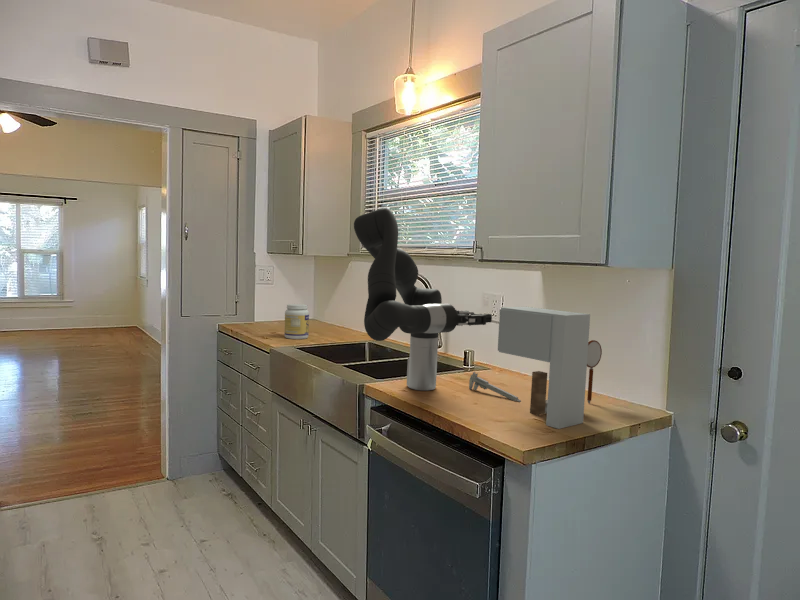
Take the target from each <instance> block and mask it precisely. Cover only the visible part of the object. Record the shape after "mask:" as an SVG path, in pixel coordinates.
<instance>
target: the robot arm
mask: <svg viewBox="0 0 800 600" xmlns="http://www.w3.org/2000/svg"><path fill="white" fill-rule="evenodd" d="M353 229H354V232H355V235H356V237H357V239H358V241H359V242H360V244H361V245H362V246H363V247H364V249H365V250H366V251H367V252H368V253H369V254H370V255H371V256H372V257H373V261H372V263H371V265H370V268H369V269H368V274H367V293H368V297H367V300H366V301H367V302H366V305H365V311H364V316H363V317H364V319H363V324H364V325H363V326H364V329H365V332H366V334H367V335H368V337H369V338H370V339H371V340H374V341H376V342H382V341H385V340H387V339H388V338H390V337H391V336H392V335H393V333H394V332H395V331H396V330H397V329H398V328H399V329H400V331H402V332H403V333H405V334H409V335H410V337H409V338H410V341H409V357H407V368H406V369H407V370H406V386H407V387H408V389H412V390H415V391H432V390H435V388H437V369H438V350H439V334H440V333H450V332H453V331H454V330H455V328H456V327H458V326H459V327H460V326H461V327H463V326H469V327H470V326H471V327H472V326H481V325H482V326H486V325H487V324H488V323H492V322H493V321H492V317H493V315H492V314H491V313H475V312H474V311H469V310H458V309H456V308H455V306H453V304H451V303H442V302H443V300H442V293H441V292H440V290H439V289H435V288H425V287H424V288H423V287H417V286H415V284H416V283H417V280H418V278H419V270H418V266H417V265H416V263H415V261H414V259H413V258H412V255H410V254H409V253H408V252H407V251H405V250H404V249H401V248H400V247H398V240H399V225H398V222H397V218H396V216H395V214H394V212H393V211H392V210H391V209H390V208H388V207H382V208H378V209H375V210H372V211H370V212H367V213H364V214H361V215H358V217H356V218H355V220H354V222H353ZM397 292H398V293H399V296H400V298H401V299H402V301H403V302H400V301H396V299H397Z"/></svg>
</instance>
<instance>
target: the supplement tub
mask: <svg viewBox="0 0 800 600" xmlns="http://www.w3.org/2000/svg"><path fill="white" fill-rule="evenodd" d="M308 308H309V307H308V304H303V303H290V304H289V303H288V304H286V310H285V311H284V337H285V338H286V339H289V340H290V339H291V340H305V339H308V338H309V334H310V333H309V330H310V329H309V328H310V326H309V325H310V311H309V310H308Z"/></svg>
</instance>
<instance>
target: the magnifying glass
mask: <svg viewBox="0 0 800 600" xmlns="http://www.w3.org/2000/svg"><path fill="white" fill-rule="evenodd" d="M602 354H603V353H602V345H601V344H600V343H599V341H598V340H594V339H592V340H589V341H588V356H587V368H588V369H589V371H588V372H589V373H588V384H587V398H586V399H587V403H588V404H590V403H591V401H592V397H593V395H592V394H593V382H594V381H593V379H594V368H596V366H598V364H599V363H600V361H601V359H602Z"/></svg>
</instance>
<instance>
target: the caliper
mask: <svg viewBox="0 0 800 600" xmlns="http://www.w3.org/2000/svg"><path fill="white" fill-rule="evenodd" d="M478 375H479V372H477V373H476V371H474V372H472V374H470V377H469V383H468V384H469V385H468V389H469V390H473V391H474V390H475V391H477V390H478V387H480V388H481V389H483V390H489V391H490V390H491V391H492V392H494V393H496V394H498V395H500V396H502V397H504V398H506V399H509V400H511V401H514V402H518V403H521V402H522V400H521V399H520V398H519V397H518V396H516V395H514V394H512V393H510V392H508V391H505V390H504V389H502V388H499V387H498V386H496V385H494V384H491V383H489V381H488V380H486V379H483V378H482V377H479V376H478Z"/></svg>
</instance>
